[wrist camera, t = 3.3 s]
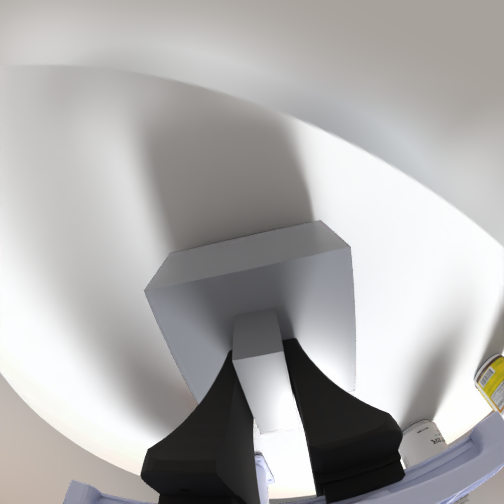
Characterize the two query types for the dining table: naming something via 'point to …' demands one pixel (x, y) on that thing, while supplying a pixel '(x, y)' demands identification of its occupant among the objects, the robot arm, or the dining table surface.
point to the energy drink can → (423, 446)
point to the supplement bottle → (492, 382)
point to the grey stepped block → (260, 313)
